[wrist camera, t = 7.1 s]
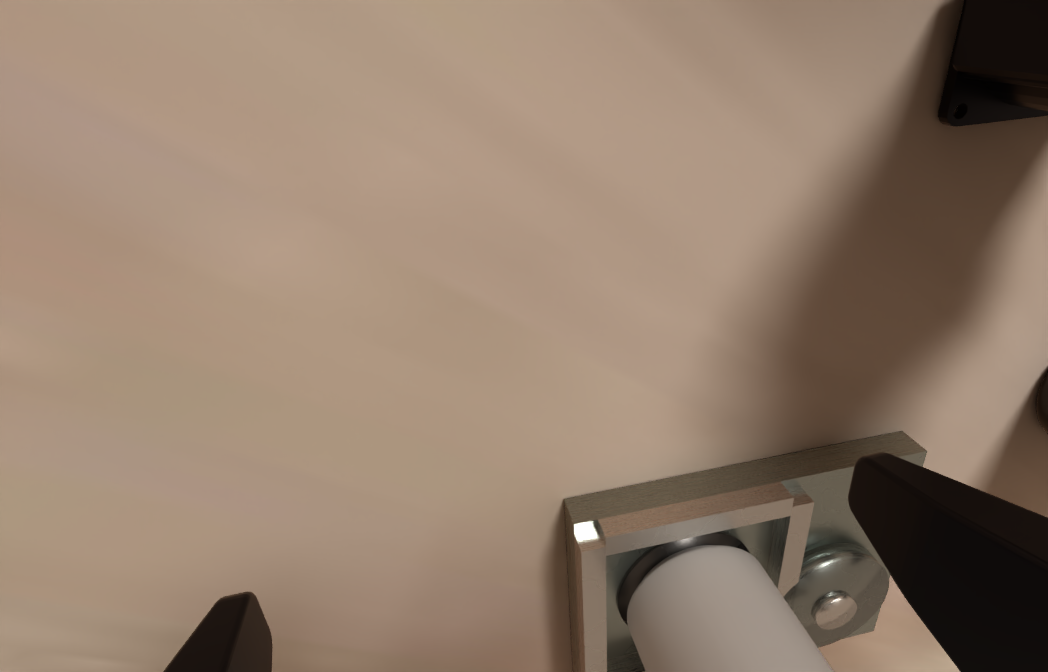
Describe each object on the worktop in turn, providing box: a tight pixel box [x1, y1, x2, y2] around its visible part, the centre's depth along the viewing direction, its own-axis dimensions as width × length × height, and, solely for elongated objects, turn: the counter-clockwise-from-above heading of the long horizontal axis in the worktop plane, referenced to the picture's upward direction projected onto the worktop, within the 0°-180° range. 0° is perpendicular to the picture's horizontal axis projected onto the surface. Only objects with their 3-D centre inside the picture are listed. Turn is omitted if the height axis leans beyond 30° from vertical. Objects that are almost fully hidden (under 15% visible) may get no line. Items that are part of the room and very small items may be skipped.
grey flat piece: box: [564, 431, 927, 672], centre depth 29 cm, size 16×12×3 cm
